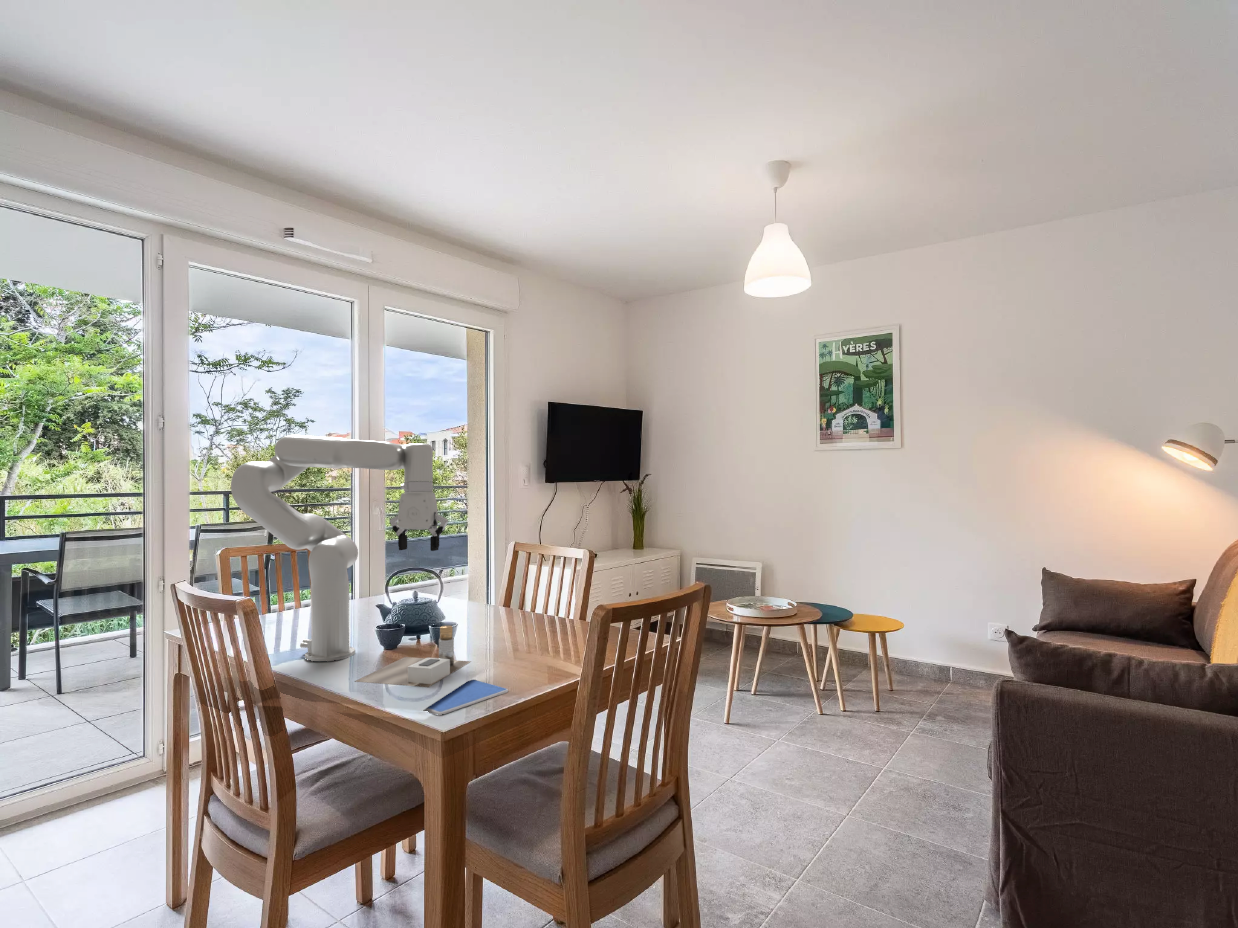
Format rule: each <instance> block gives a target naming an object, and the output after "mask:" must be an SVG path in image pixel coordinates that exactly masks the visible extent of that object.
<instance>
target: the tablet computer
mask: <svg viewBox="0 0 1238 928" xmlns="http://www.w3.org/2000/svg"><path fill="white" fill-rule="evenodd" d="M508 691H509V689H508V688H505V687H502V686H498V685H496V684H492V683H488V682H484V681H482V680H477V679H469V680H467V681H465V682H464V683H463V684H461V685H459V686H458V687H456V688H455V689H454V690H451V691H450V692H449V693H447V694H446V695H444V696H443V697H441V698H440V699H438V700H437V701H435V702H434V703H432V704H430V705H429V706H428V707H426V708H424V709H423V712H425V711H428V712H429V714H431V713H433V714H432V715H434V714H438V715H437V716H443V715H442V714H444V715H446V714H449V713H451V712H454V711H457V710H460V709H463V708H466V707H469V706H472V705H475V704H477V703H481V702H483V701H486V700H489V699H492V698H495V697H499V696H501V695H504V694H507V693H509V692H508ZM428 712H427V713H428Z"/></svg>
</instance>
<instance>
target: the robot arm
mask: <svg viewBox="0 0 1238 928" xmlns="http://www.w3.org/2000/svg"><path fill="white" fill-rule="evenodd" d="M274 454H275V455H273V456H272V457H271V458H270V459H267V461H256V460H255V461H248V462H245V463H242V464H241V465H239V466H238V467H237V468H236V469H235V470H234V472H233V474H232V475H231V479H230V480H231V481H230V491H231V495H232V496H231V497H232V498H233V500H234V502H235V503H236V505H237V506H238V507H239V509H240V510H241V511H242V513H244V514H246V515H247V516H248V517H249V518H251V519H252V520H253V521H255V522H256V523H257V524H259V525H260V526H261V527H263V529H265V531H267V532H268V533H270V534H271V535H273V536H274V537H275V538H276V539H278V540H279V541H280V542H282V543H283V544H284V545H286V546H287V547H288V548H290V549H293V550H296V551H297V550H298V551H299V550H304V549H307V550H308V551H310V553H309V556H308V571H309V578H310V599H311V600H310V605H311V608H310V610H311V611H310V612H311V613H310V614H311V615H310V618H311V620H310V624H311V625H310V628H311V630H310V632H311V635H310V636H311V637H310V638H304V639H303V640H302V642H301V643H300V645H299V646H300V648H301V649H302V648H304V649H305V648H307V651H306V653H305V654H304V659H305V658H306V659H308V660H311V661H310V662H313V661H327V662H333V661H334V660H336V661H340V659H341V660H344V659H347V658H348V659H349V658H351V657H352V656H354V655H356V648H355V647H354V646H350V584H349V583H350V582H349V573H348V569H349V568H350V567H352V566H353V565H354V564H355V563H356V561H357V559H358V556H359V551H358V546H357V544H356V543H355V542H354V541H353V539H352V538H351V537H350V536H348V535H347V534H345V533H344V532H343V531H342V530H341V529H340V530H339V528H338V527H336V525H333V524H332V523H331V522H329V521H328V520H327V519H325V518H324V517H322V516H321V515H318V514H315V513H311V512H310V513H302V512H300V511H298V510H296V509H295V508H293V506H291V505H289V504H288V502H286V501H285V500H283V499H282V498H281V497H279V496H278V495H277V496H276V495H275V494H274V493H272V492H277V491H278V490H280V489H282V488H283V487H285V486H286V485H287V484H289V483H291V482H292V481H293V480H294V479H295V478H297V477H298V476H299V475H301V474H302V473H303V472H305V470H307V469H308V468H323V469H324V468H325V469H336V470H337V469H339V470H340V469H346V468H349V469H350V468H351V469H364V470H365V469H367V470H369V469H370V470H383V471H396V470H397V471H399V470H404V471H403V473H404V475H403V476H404V479H403V480H404V481H403V483H401V484H400V489H401V490H403V491H404V492H402V493H401V495H400V498H399V505H398V512H397V515H395V516H394V517H392V518H390V519H389V523H390V525H391V527H392V528H391V529H392V531H394V532H395V535H396V536H398V537H397V545H398V551H404V550H405V551H406V550H408V534H407V532H408V531H409V530H428V531H429V532H430V534H431V536H430V539H429V540H430V542H429V543H430V551H431V552H434V551H439V548H440V536H441V535H442V533H443V532H444V531H445V530H446V527H447V525H448V523H449V520H448V519H447V518H445V517H443V516H442V515H441V514H438V513H439V512H438V504H437V498H436V494H435V492H433V490H434V489H433V485H434V483H433V481H434V479H433V475H434V471H433V470H434V469H433V468H434V467H433V463H434V462H433V447H432V445H431V444H429V443H418V442H417V443H408V444H400V443H394V442H390V441H381V440H380V441H376V440H363V439H361V440H360V439H347V438H344V437H335V436H334V437H333V436H319V435H318V436H317V435H315V436H314V435H301V434H288V435H284V436H282V437H281V438H279V439H278V440H277V441H276V443H275V445H274ZM439 522H440V523H439ZM439 524H440V525H439ZM438 525H439V526H438ZM306 659H305V660H306ZM308 660H307V661H308Z"/></svg>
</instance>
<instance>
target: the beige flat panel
mask: <svg viewBox="0 0 1238 928" xmlns="http://www.w3.org/2000/svg"><path fill="white" fill-rule="evenodd" d="M426 658H427V657H426ZM426 658H424V657H423V658H422V657H410V656H404V657H402V658H400V659H397V660H395V661H394V662H392V663H389V664H387V665H385V666H383V667H381V668H379V669H376V670H375V671H372V672H370V673H369V674H367V675H364V676H363V677H360V678H359V679H357V680H354V682H355V683H356V682H357V683H369V684H370V683H371V684H383V685H393V686H395V685H396V686H397V685H398V686H409V687H418V688H419V687H422V688H430V687H432V686H433V685H435V684H437V683H438V682H440V681H441V680H443V679H445V678H447V677H448V676H449V675H452V674H453V673H455V672H456V671H458V670H459V669H460V670H461V668H464V667H465V666H467V665H468V664H470V663H471V662H472V661H470V660H458V659H457V660H456V659H454V665H453V666H451V667H450V674H449V675H447V676H445V677H443V678H442V679H440V680H438V681H436V682H434V683H432V684H423V683H413V682H408V666H410V665H413V664H415V663H417V662H419V661H421V660H423V659H426Z"/></svg>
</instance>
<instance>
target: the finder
mask: <svg viewBox="0 0 1238 928" xmlns="http://www.w3.org/2000/svg"><path fill="white" fill-rule="evenodd" d="M449 674H450V659H440V658H439V657H426V659H423V660H421V661H419V662H417V663H415V664H413V665H410V666H408V682H413V683H423V684H432V683H434V682H436V681H438V680H440V679H442V678H443V677H445V676H447V675H448V676H449ZM450 675H451V674H450ZM448 676H447V677H448ZM445 678H446V677H445ZM443 679H444V678H443ZM443 679H442V680H443ZM440 681H441V680H440ZM438 682H439V681H438Z"/></svg>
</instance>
